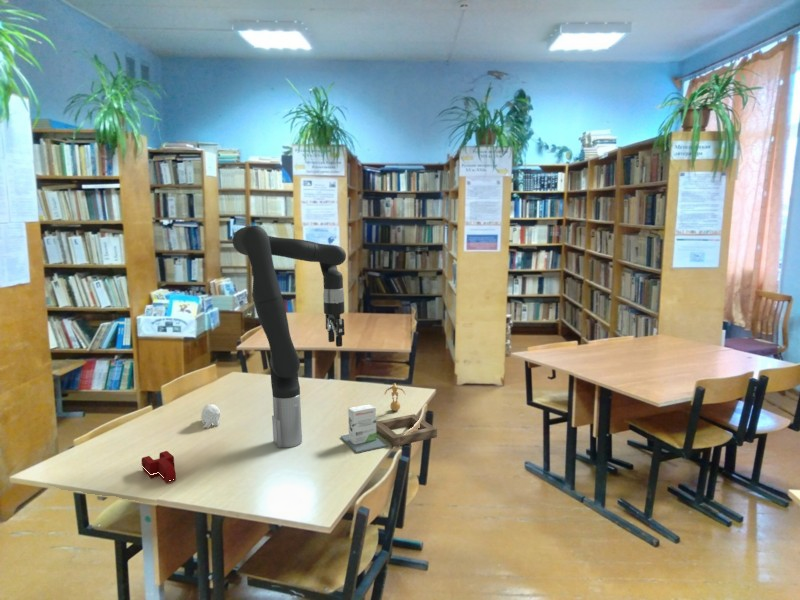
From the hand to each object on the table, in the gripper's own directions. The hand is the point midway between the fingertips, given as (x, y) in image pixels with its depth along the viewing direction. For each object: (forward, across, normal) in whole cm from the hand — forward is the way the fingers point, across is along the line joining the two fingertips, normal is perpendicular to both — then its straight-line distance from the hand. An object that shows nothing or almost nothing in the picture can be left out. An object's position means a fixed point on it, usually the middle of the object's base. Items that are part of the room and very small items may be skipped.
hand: (335, 344), depth 199 cm
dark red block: (+31, +15, -61) cm, 70 cm away
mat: (+31, +20, +2) cm, 37 cm away
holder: (+31, +20, +18) cm, 41 cm away
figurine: (+31, -2, +25) cm, 40 cm away
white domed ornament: (+31, -23, -43) cm, 58 cm away
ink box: (+30, +20, +2) cm, 36 cm away
